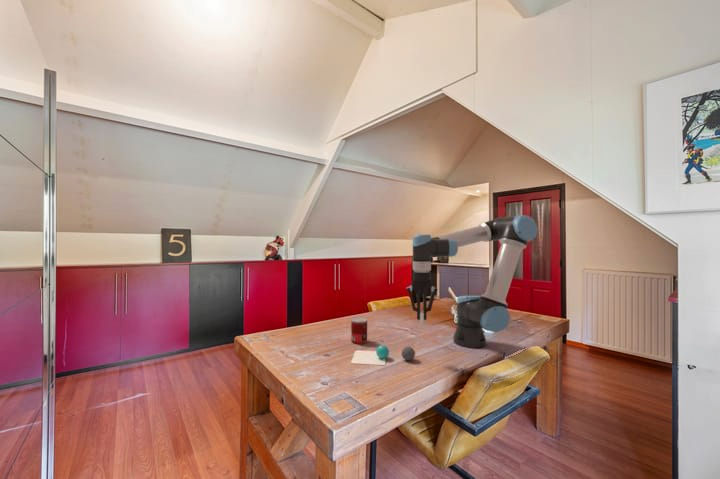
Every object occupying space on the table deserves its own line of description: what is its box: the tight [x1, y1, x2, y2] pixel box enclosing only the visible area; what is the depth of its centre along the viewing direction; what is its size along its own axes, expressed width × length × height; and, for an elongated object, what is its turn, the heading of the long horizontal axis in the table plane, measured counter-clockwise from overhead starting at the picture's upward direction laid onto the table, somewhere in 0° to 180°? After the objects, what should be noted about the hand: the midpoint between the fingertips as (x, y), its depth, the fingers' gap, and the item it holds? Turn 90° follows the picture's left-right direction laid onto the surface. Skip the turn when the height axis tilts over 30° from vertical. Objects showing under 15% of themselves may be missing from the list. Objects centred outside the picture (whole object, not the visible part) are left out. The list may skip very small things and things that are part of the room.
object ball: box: [375, 344, 390, 359], centre depth 126 cm, size 6×6×6 cm
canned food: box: [350, 317, 368, 345], centre depth 147 cm, size 8×8×11 cm
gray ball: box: [401, 346, 416, 362], centre depth 125 cm, size 6×6×6 cm
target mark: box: [350, 350, 387, 366], centre depth 127 cm, size 14×14×1 cm
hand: (421, 327), depth 124 cm, fingers closed
